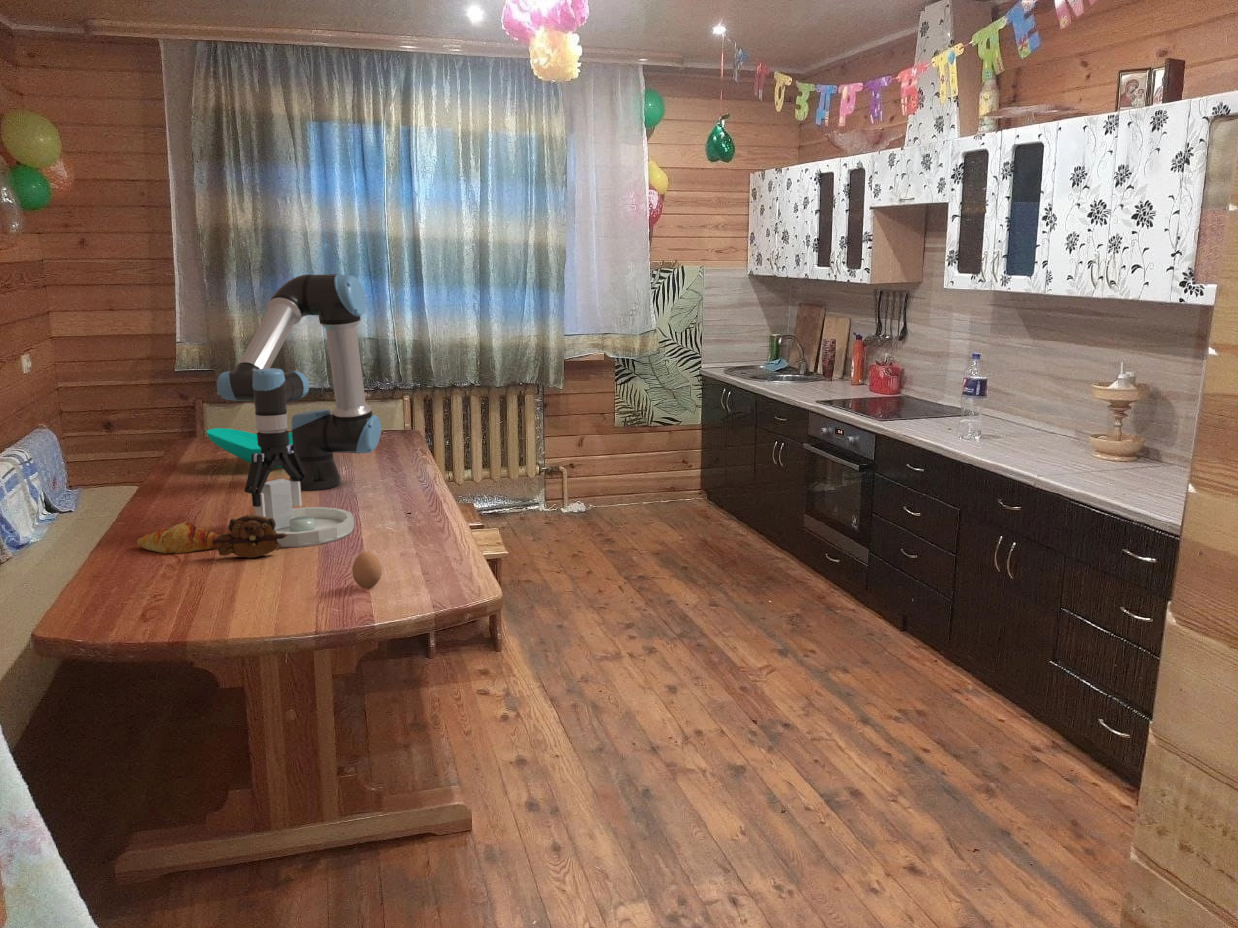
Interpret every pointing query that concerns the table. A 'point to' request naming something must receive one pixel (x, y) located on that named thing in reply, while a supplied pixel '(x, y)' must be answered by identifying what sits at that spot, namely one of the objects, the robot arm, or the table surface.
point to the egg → (366, 570)
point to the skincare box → (278, 502)
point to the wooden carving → (249, 537)
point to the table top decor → (238, 442)
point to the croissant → (178, 539)
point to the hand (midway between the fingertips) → (279, 511)
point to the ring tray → (316, 526)
